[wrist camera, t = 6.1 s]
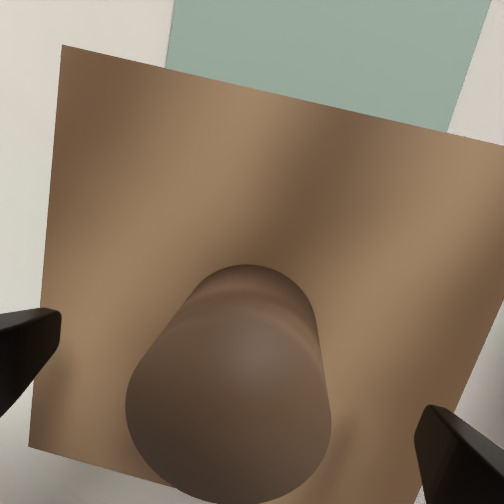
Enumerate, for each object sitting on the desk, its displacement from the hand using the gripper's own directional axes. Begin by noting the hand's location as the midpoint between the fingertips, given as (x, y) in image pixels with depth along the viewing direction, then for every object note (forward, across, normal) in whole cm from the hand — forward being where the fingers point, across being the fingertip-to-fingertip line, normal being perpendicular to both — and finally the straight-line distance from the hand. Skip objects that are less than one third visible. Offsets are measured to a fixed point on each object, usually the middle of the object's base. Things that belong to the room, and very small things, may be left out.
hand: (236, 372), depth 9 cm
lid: (+3, 0, 0) cm, 3 cm away
